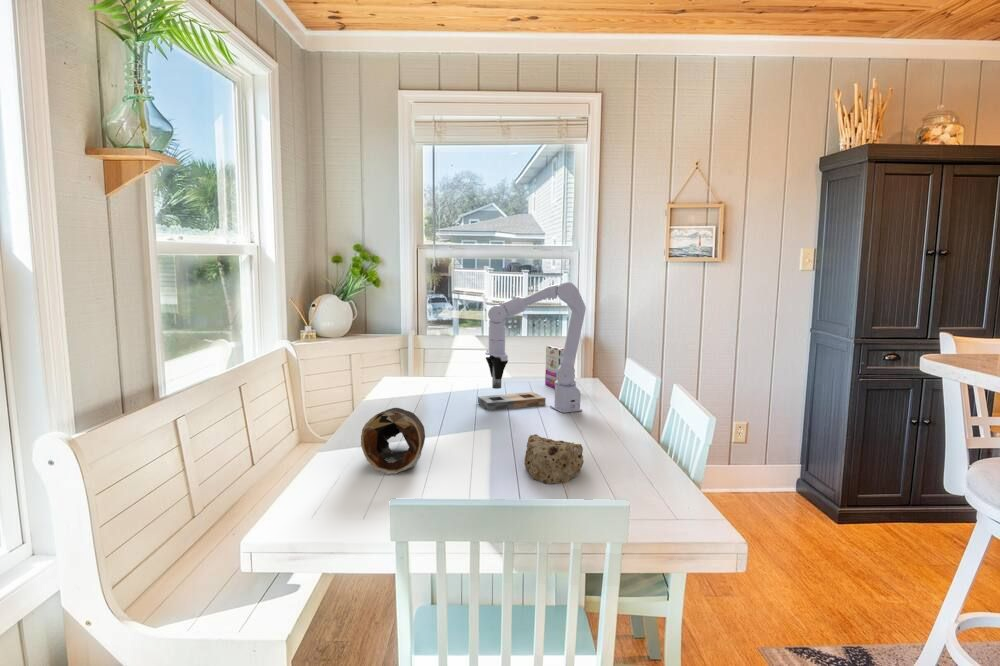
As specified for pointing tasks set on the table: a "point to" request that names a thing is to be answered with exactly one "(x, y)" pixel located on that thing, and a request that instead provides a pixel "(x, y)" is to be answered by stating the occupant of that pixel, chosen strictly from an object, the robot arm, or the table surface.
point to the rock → (552, 459)
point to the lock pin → (495, 381)
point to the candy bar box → (552, 364)
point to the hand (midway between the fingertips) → (496, 378)
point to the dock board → (511, 400)
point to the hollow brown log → (386, 428)
